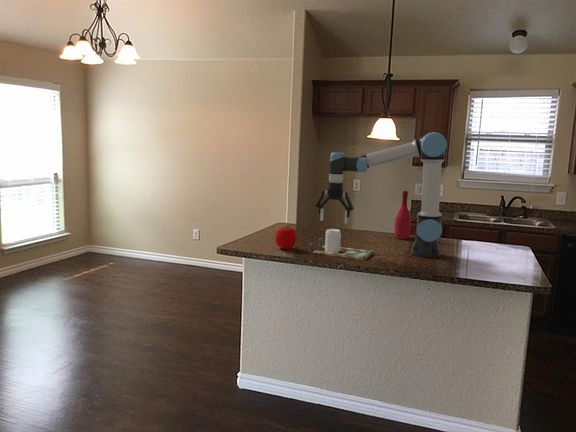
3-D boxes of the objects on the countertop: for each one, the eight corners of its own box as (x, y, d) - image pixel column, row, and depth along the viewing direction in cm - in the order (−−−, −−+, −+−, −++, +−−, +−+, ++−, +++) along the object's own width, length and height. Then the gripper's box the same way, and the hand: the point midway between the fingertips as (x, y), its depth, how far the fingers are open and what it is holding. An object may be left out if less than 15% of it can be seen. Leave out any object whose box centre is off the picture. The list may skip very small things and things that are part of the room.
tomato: (300, 249, 256) (301, 226, 254) (286, 252, 248) (287, 228, 246) (284, 245, 265) (285, 223, 262) (269, 248, 256) (270, 225, 254)
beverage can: (339, 254, 247) (340, 232, 245) (324, 253, 249) (325, 230, 247) (340, 250, 255) (341, 229, 253) (325, 249, 257) (326, 228, 255)
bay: (372, 253, 252) (373, 244, 251) (365, 260, 237) (365, 250, 236) (319, 246, 264) (320, 237, 263) (309, 252, 248) (309, 243, 247)
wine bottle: (412, 238, 296) (415, 190, 291) (406, 240, 288) (410, 192, 283) (397, 236, 301) (400, 189, 296) (391, 238, 293) (394, 190, 288)
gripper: (360, 183, 245) (358, 223, 248) (315, 180, 254) (314, 218, 258) (357, 184, 238) (354, 225, 241) (311, 180, 247) (309, 220, 251)
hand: (333, 221), depth 249 cm, fingers open, 13 cm apart
